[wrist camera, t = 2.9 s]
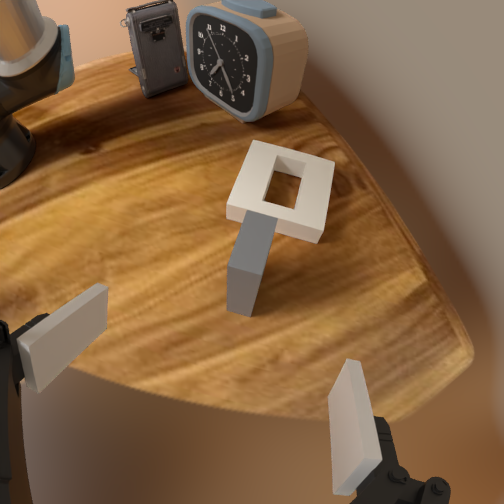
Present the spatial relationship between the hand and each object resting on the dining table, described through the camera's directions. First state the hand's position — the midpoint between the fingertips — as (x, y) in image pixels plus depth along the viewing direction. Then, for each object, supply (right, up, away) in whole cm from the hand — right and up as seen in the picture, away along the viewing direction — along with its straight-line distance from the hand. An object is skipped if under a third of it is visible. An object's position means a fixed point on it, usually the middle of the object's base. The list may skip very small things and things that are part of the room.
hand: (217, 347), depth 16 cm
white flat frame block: (+6, +13, +31) cm, 35 cm away
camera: (-20, +43, +45) cm, 65 cm away
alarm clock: (-1, +34, +41) cm, 53 cm away
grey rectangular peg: (+1, 0, +24) cm, 24 cm away
